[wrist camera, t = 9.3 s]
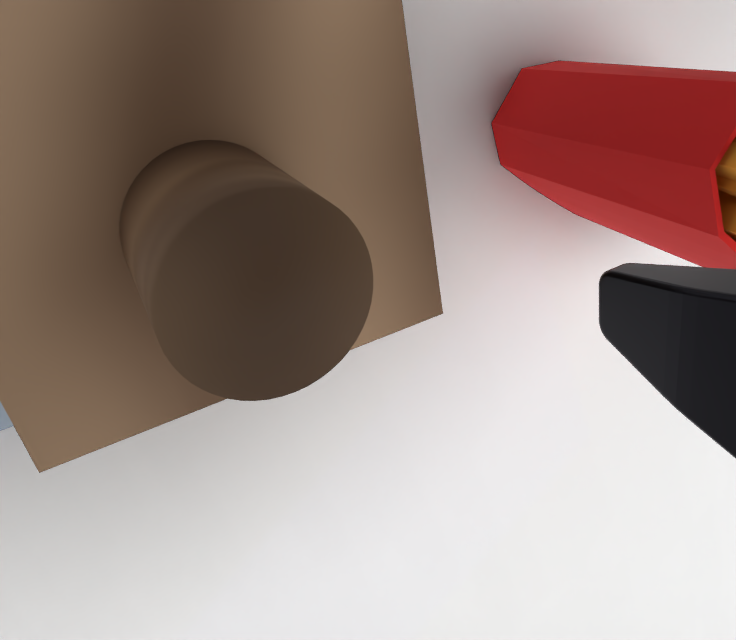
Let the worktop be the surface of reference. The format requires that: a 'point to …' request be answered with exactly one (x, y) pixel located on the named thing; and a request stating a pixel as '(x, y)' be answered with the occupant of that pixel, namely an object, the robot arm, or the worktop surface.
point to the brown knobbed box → (199, 206)
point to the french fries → (630, 150)
